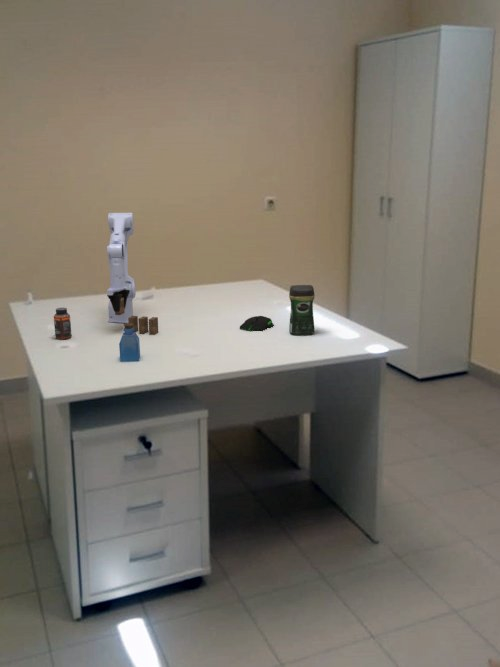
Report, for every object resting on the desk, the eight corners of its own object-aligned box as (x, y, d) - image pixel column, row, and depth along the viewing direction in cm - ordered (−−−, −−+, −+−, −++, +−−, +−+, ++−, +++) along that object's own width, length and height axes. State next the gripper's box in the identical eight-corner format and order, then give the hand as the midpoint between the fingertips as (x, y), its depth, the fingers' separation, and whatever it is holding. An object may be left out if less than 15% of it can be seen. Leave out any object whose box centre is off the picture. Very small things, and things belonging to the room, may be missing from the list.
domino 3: (149, 334, 272) (148, 319, 270) (153, 332, 276) (153, 317, 274) (154, 335, 271) (153, 319, 270) (158, 332, 275) (157, 317, 273)
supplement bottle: (74, 336, 270) (72, 307, 267) (66, 340, 265) (63, 310, 262) (61, 335, 272) (59, 306, 269) (52, 339, 267) (49, 309, 264)
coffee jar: (312, 330, 277) (313, 282, 272) (315, 335, 269) (316, 287, 264) (287, 330, 276) (288, 283, 271) (289, 336, 269) (290, 287, 264)
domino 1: (128, 333, 274) (128, 318, 273) (133, 330, 278) (132, 315, 276) (133, 333, 274) (132, 318, 272) (138, 330, 277) (137, 315, 276)
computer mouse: (280, 324, 288) (280, 314, 287) (264, 334, 273) (264, 323, 272) (254, 321, 292) (254, 311, 291) (237, 331, 278) (237, 320, 277)
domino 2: (139, 334, 273) (138, 318, 272) (143, 331, 277) (143, 316, 275) (143, 334, 273) (143, 319, 271) (148, 331, 276) (147, 316, 275)
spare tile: (115, 314, 274) (114, 299, 273) (119, 312, 278) (119, 297, 276) (119, 315, 274) (119, 299, 272) (124, 312, 277) (123, 297, 276)
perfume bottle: (121, 356, 245) (119, 322, 242) (140, 355, 245) (138, 321, 242) (120, 361, 239) (118, 327, 236) (138, 361, 240) (137, 326, 236)
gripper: (118, 279, 264) (120, 314, 267) (135, 272, 277) (137, 306, 281) (101, 278, 266) (103, 313, 269) (119, 271, 279) (121, 305, 283)
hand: (119, 310), depth 275 cm, fingers closed on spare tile, 4 cm apart
